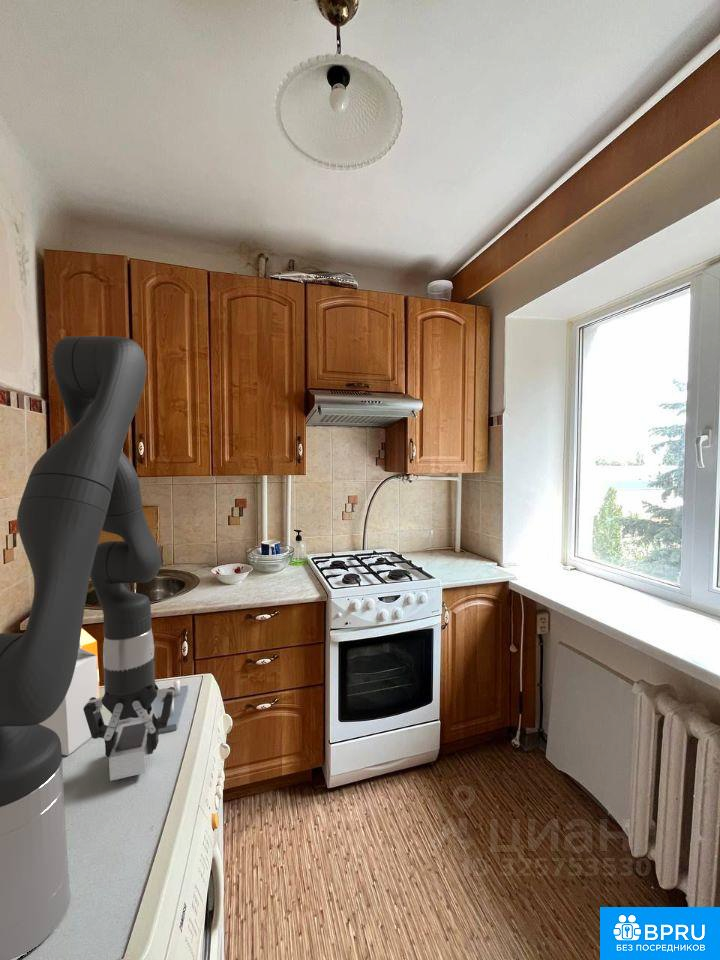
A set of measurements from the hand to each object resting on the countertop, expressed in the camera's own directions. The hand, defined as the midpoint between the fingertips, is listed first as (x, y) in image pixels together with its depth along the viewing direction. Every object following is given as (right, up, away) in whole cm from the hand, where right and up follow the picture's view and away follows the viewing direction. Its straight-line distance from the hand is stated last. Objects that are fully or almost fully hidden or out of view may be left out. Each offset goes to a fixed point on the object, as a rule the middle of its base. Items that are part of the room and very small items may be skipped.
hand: (133, 753), depth 71 cm
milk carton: (-15, -2, +6) cm, 17 cm away
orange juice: (-21, -1, +15) cm, 26 cm away
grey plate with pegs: (-3, -1, +14) cm, 15 cm away
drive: (0, -1, 0) cm, 1 cm away
